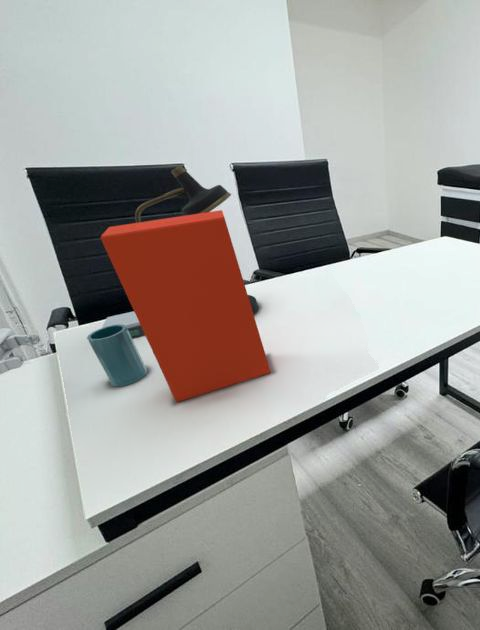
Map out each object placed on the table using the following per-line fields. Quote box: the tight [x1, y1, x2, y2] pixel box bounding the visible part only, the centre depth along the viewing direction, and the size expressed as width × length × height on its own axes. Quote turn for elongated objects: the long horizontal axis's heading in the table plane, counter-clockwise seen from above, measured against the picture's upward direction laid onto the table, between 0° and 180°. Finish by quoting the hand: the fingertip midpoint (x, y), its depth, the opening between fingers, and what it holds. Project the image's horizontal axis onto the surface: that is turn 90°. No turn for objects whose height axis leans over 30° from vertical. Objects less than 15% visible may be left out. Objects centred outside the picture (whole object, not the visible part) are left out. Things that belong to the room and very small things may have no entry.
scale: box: [101, 310, 145, 339], centre depth 101 cm, size 12×11×4 cm
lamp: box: [134, 165, 260, 316], centre depth 97 cm, size 16×22×38 cm
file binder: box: [100, 209, 272, 403], centre depth 72 cm, size 8×17×32 cm, turn 118°
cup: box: [86, 324, 148, 387], centre depth 79 cm, size 6×6×11 cm
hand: (30, 348), depth 72 cm, fingers open, 8 cm apart
